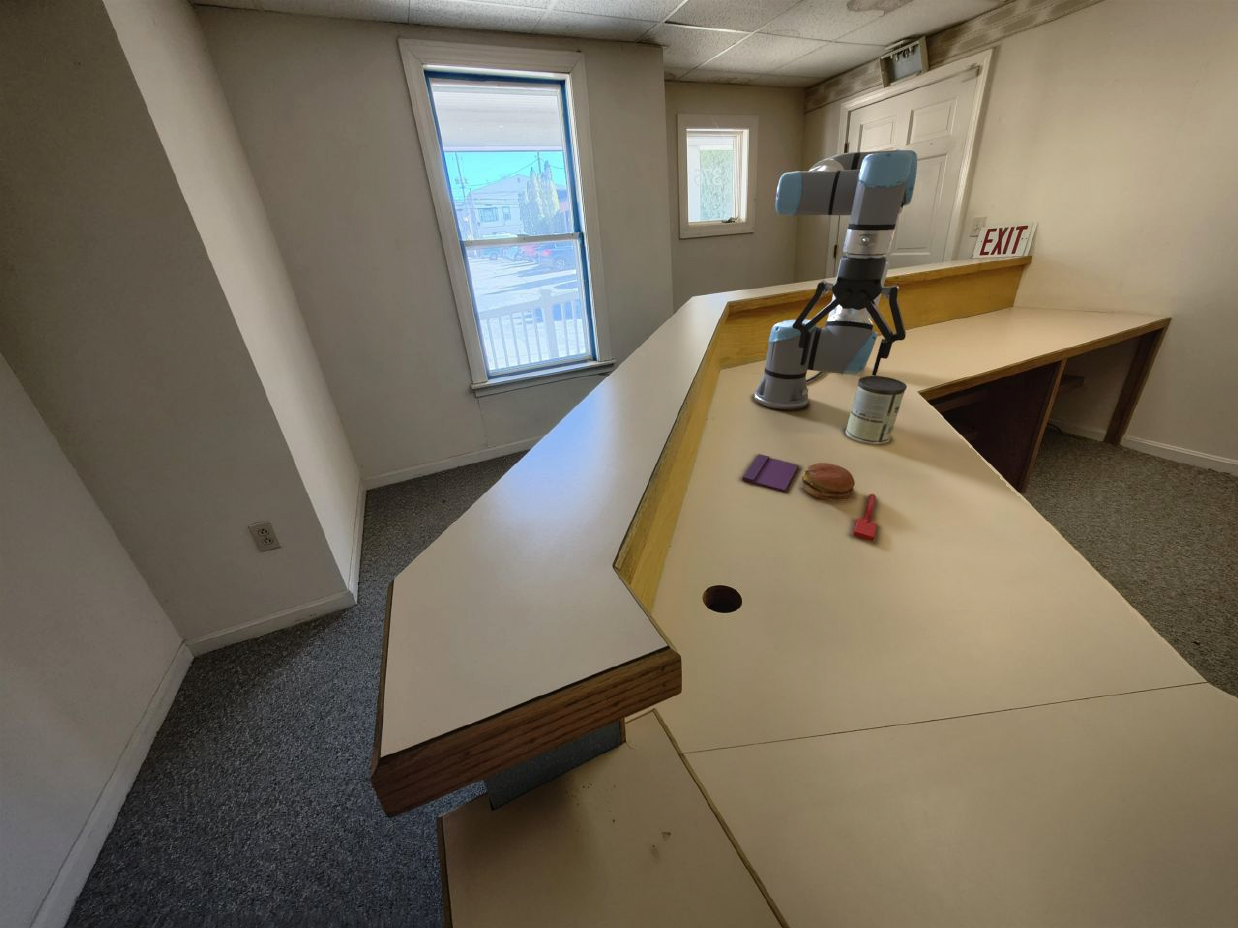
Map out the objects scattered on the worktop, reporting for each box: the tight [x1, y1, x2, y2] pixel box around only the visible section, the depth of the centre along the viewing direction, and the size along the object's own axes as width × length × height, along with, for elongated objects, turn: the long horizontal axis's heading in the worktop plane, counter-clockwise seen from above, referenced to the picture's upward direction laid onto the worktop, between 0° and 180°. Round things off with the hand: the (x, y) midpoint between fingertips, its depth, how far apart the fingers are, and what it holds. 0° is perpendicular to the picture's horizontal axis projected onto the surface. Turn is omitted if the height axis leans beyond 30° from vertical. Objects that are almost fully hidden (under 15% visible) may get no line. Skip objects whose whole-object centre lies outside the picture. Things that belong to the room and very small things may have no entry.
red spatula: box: [852, 493, 878, 542], centre depth 85 cm, size 15×3×1 cm, turn 149°
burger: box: [801, 462, 856, 501], centre depth 93 cm, size 10×9×5 cm
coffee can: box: [844, 375, 908, 445], centre depth 112 cm, size 10×10×14 cm
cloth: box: [742, 453, 799, 493], centre depth 99 cm, size 12×9×1 cm
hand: (837, 368), depth 93 cm, fingers open, 13 cm apart
